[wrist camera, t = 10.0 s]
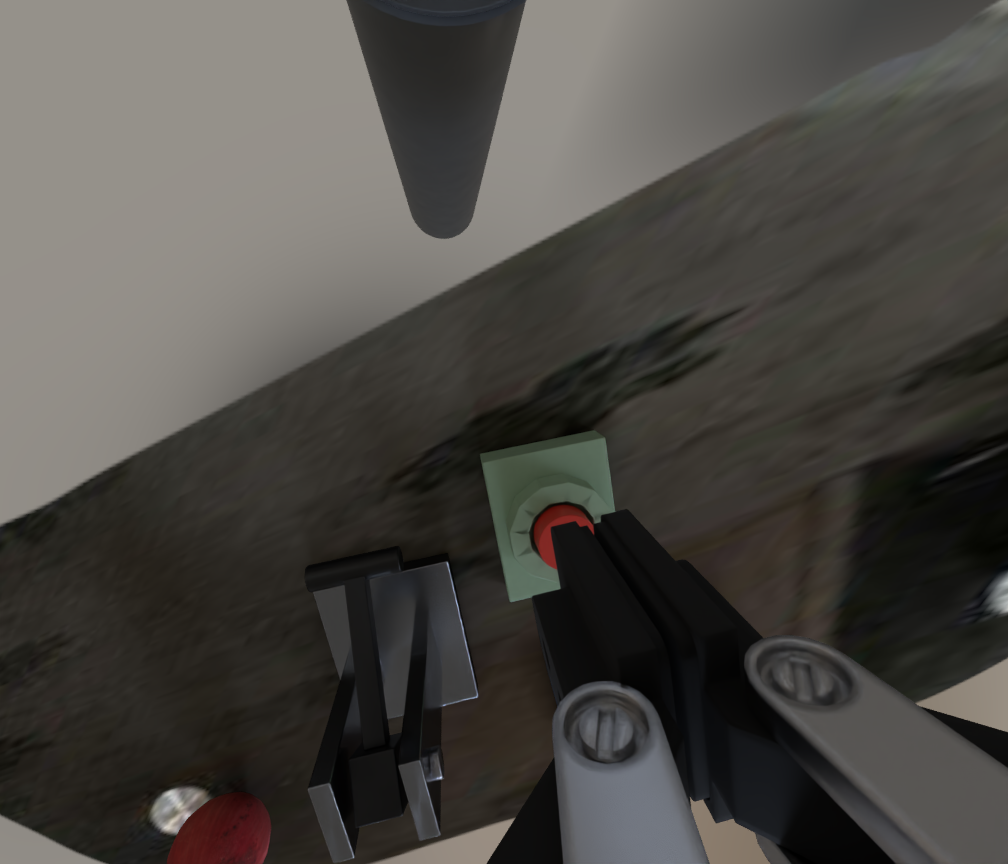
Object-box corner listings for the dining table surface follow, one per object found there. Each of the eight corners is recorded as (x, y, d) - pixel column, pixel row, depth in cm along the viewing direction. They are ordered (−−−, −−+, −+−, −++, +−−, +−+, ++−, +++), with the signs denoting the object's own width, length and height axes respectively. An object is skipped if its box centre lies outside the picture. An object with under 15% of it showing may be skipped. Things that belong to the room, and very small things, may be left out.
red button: (528, 510, 29) (534, 522, 27) (585, 498, 29) (593, 509, 28) (538, 563, 30) (543, 577, 28) (593, 550, 30) (601, 564, 28)
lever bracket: (317, 581, 32) (236, 740, 20) (447, 552, 33) (449, 688, 20) (357, 713, 35) (308, 928, 22) (477, 684, 35) (495, 876, 23)
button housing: (479, 453, 32) (484, 471, 28) (594, 429, 32) (615, 443, 28) (505, 585, 34) (513, 618, 30) (612, 561, 35) (634, 590, 31)
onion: (266, 751, 34) (214, 874, 27) (297, 809, 36) (256, 942, 28) (187, 779, 34) (112, 911, 26) (222, 836, 36) (160, 978, 28)
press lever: (315, 565, 27) (299, 565, 25) (402, 546, 27) (394, 544, 25) (340, 811, 24) (324, 837, 21) (439, 786, 24) (433, 808, 22)
